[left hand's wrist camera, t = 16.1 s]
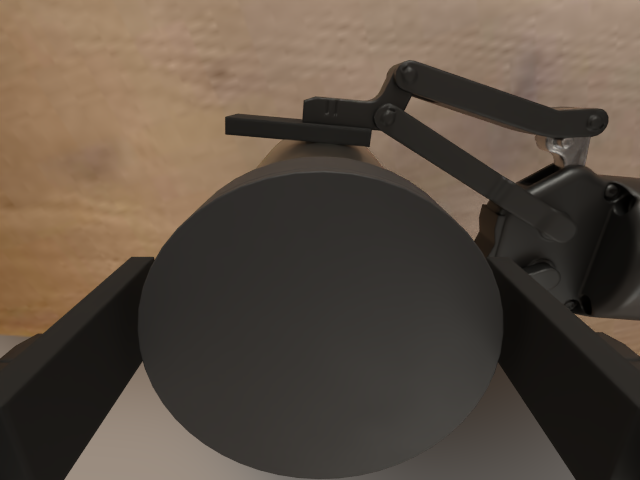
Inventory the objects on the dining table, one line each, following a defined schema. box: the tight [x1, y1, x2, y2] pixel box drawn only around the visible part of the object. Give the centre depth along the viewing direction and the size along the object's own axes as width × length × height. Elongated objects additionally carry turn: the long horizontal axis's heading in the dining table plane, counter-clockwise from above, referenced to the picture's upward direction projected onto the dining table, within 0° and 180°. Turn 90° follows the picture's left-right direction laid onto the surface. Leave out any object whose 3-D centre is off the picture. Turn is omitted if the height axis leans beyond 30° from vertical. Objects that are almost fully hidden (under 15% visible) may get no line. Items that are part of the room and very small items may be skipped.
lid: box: [138, 156, 503, 479], centre depth 11 cm, size 10×10×2 cm
